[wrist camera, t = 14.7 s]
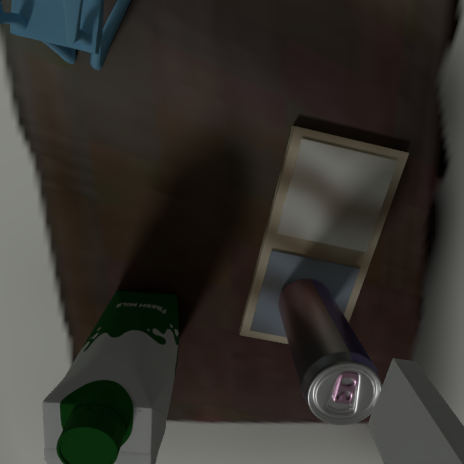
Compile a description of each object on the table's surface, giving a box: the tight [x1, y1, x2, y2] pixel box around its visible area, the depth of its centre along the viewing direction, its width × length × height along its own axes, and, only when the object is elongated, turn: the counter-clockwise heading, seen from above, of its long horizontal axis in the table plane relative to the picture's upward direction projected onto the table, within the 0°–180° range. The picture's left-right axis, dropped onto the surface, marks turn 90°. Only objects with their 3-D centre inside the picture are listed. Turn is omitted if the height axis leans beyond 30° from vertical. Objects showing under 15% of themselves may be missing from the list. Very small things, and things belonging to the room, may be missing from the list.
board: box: [239, 126, 409, 344], centre depth 41 cm, size 24×12×2 cm, turn 167°
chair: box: [0, 0, 131, 70], centre depth 29 cm, size 8×8×12 cm
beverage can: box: [278, 279, 382, 425], centre depth 35 cm, size 6×6×15 cm
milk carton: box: [43, 290, 179, 464], centre depth 35 cm, size 9×9×20 cm
